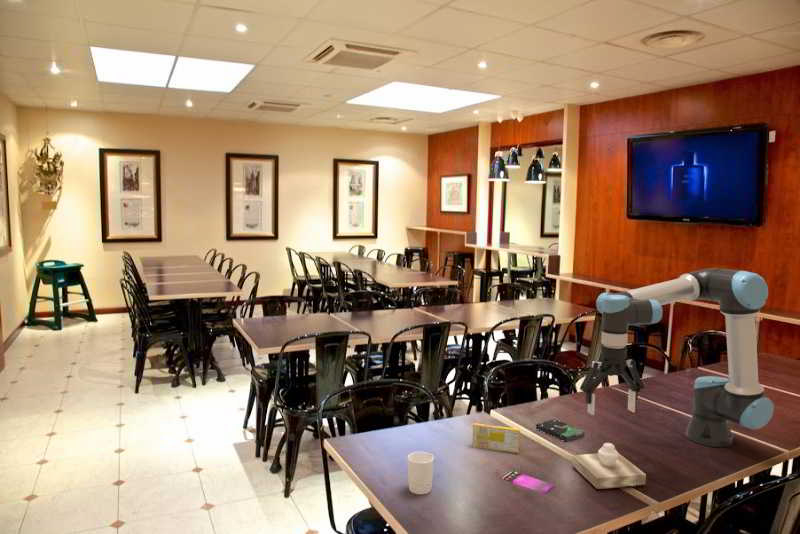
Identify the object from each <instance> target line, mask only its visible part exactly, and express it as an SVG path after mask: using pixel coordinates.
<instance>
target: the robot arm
mask: <svg viewBox="0 0 800 534" xmlns="http://www.w3.org/2000/svg"><path fill="white" fill-rule="evenodd" d="M768 297H769V287H768V285H767V283H766V281H765V279H764V278H763V277H762V276H761V275H759V274H758V273H755V272H750V271H747V270H739V269H738V270H737V269H729V268H728V269H726V268H720V267H713V268H712V267H711V268H705V269H699V270H695V271H691V272H687V273H683V274H682V275H680V276H679V277H678V278H675V279H671V280H667V281H666V280H665V281H663V282H660V283H654V284H651V285H646V286H643V287H639V288H638V287H637V288H634V289H631V290H625V291H620V292H616V293H614V292H602V293H601V294H599V296H598V297H597V299H596V300H595V301H596V303H595V304H596V305H595V306H596V310H597V311H598V312H599V313H600V314H601V341H600V342H601V346H600V361H595V360H591V361H590V366H589V369H588V371H587V373H586V375H585V377H584V379H583V380H582V383H581V385H580V387H579V389H580V391H582V392H583V393H585V402H586V403H587V413H588V414H590V415H591V416H594V415H595V403H596V401H595V400H596V394H595V393H594V392H595V391H596V389H598V387H599V386H600V384H602V382H603V381H604V380H605V379H606V378H608V376H609V377H613V376H617V377H618V376H621V378H622V379H623V380H624V382H625V383H626V384H627V385H628V386H629V387H630V389H628V390H627V392H628V395H627V410H628V411H630V412H631V413H636V402H637V401H638V397H639V393H640V392H641V390H644V389H645V385H644V383H643V380H642V378H641V375H640V373H639V372H638V369H637V365H636V364H637V362H636V361H635V360H634V359H632V358H628V347H627V346H628V334H629V326H642V325H652V324H657V323H659V322H660V321H661V320H662V318H663V312H664V311H663V310H664V309H663V307H662V306H663V305H664V306H665V305H668V304H673V303H677V302H679V301H684V300H686V301H688V302H691V301H692V302H693V301H696V300H703V301H710V302H711V301H712V302H716V303H719V312H720V313H721V314H723V316H724V317H725V318H724V319H725V332H726V348H727V349H726V352H727V365H728V367H727V369H728V377H722V376H714V375H713V376H710V375H709V376H699V377H697V378H696V379H695V380H694V386H693V393H692V394H693V396H692V411H691V412H692V414H691V418H690V419H689V422H688V425H687V426H686V429H685V437H686V438H687V439H688V440H689V441H692V442H694V443H697V444H699V445H703V446H707V447H714V448H725V447H730V446H732V445H733V434H732V430H731V427H730V423H729V421H731V422H733V423H735V424H738V425H740V426H741V427H743V428H748V429H750V430H759V429H761V428H763V427H765V426H766V425H767V424H768V423H769V422H770V420H771V419H772V417H773V414H774V411H775V409H774V403H773V401H772V400H771V399H770V398H768V397H766V396H765V388H764V386H763V385H762V384H760V382H759V368H758V367H759V366H758V349H757V328H756V315H758V314H759V313H760V312H761V308H763V306H765V304H766V302H767V301H766V300H768ZM627 358H628V359H627ZM626 367H628V369H629V372H630V374H631V376H630V375H629V374H628V372H627V371H626V370H625V369H626ZM631 377H632V378H633V380H632V378H631Z"/></svg>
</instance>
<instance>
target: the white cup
mask: <svg viewBox="0 0 800 534" xmlns="http://www.w3.org/2000/svg"><path fill="white" fill-rule="evenodd" d="M406 459H407V461H406V462H407V480H408V481H407V482H408V491H409V492H411V493H412V494H415V495H426V494H428V493H430V492H431V491H432V489H433V488H432V487H433V486H432V485H433V478H434V476H433V475H434V465H435V463H434V462H435V457H434V455H433V454H432V453H429V452H427V451H413V452H411V453H409V454H408V455H407V457H406Z"/></svg>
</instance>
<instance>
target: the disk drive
mask: <svg viewBox="0 0 800 534" xmlns="http://www.w3.org/2000/svg"><path fill="white" fill-rule="evenodd" d="M536 429H539V430H541V431H543V432H545V433H548V434H550V435H552V436H555V437H557V438H559V439H561V440H564V441H566V442H568V441H571V440H574V439H576V440H578V439H577V438H580V437H582V438H585V436H586V435H585V433H586V432H585V431H584V430H582V429H580V428H577V427H575V426H572V425H570V424H567V423H565V422H562V421H560V420H559V419H554V418H552V419H550V420H545V421H543V422H542V423H540V422H539V423H536V424H535V430H536ZM543 432H542V433H543ZM545 433H544V434H545ZM550 435H549V436H550ZM552 436H551V437H552ZM557 438H556V439H557ZM559 439H558V440H559ZM580 439H581V438H580ZM561 440H560V441H561ZM564 441H563V442H564ZM574 441H575V440H574ZM566 442H565V443H566ZM571 442H572V441H571ZM568 443H569V442H568Z"/></svg>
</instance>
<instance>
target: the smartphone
mask: <svg viewBox="0 0 800 534" xmlns="http://www.w3.org/2000/svg"><path fill="white" fill-rule="evenodd" d="M500 479H501V480H503V479H504V481H506V482H510V483H512V484H515V485H517V486H520V487H523V488H525V487H526V489H528V488H529V489H528V490H531V489H532V490H531V491H534V490H535V491H534V492H536V491H537V493H539V492H540V493H539V494H543V495H546V494H547V493H549V490H550V491H552V489H553V488H555V486H556V485H555V484H552V483H549V482H546V481H544V480H540V479H538V478H534V477H531V476H528V475H526V474H522V473H520V472H517V471H515V470H510V471H509V472H507V473H505V474H504V475H502V476H501V477H500Z"/></svg>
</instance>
